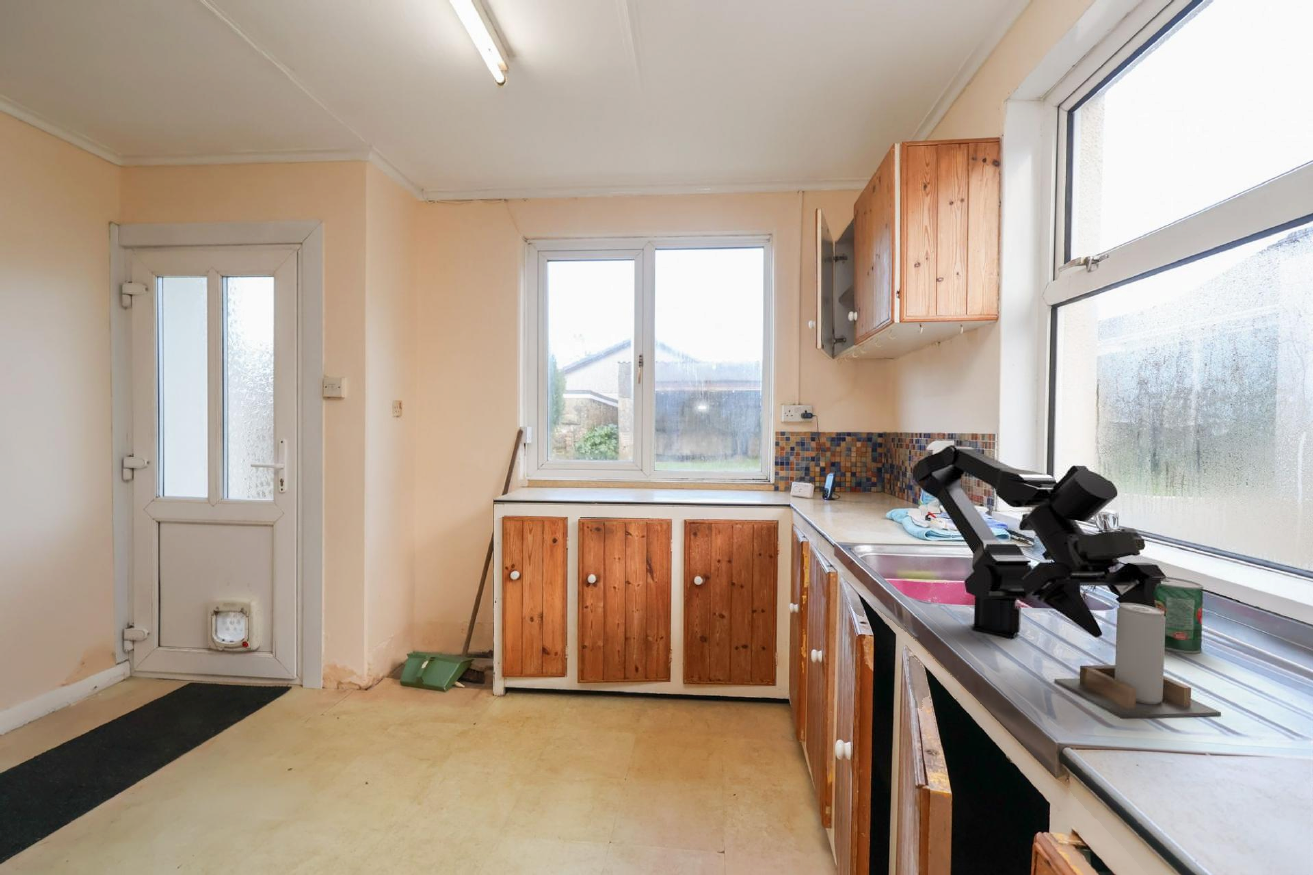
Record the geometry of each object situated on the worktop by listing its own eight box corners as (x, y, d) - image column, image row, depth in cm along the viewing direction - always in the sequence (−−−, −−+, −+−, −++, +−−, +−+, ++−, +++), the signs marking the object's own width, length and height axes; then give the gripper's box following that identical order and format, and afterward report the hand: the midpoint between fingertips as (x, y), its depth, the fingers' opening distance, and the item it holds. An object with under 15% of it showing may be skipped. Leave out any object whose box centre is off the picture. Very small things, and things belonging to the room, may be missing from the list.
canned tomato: (1215, 653, 89) (1217, 587, 89) (1171, 653, 89) (1173, 587, 89) (1167, 635, 97) (1168, 575, 97) (1126, 635, 97) (1128, 574, 97)
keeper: (1054, 681, 77) (1054, 661, 77) (1141, 679, 78) (1142, 659, 78) (1121, 718, 67) (1122, 695, 67) (1220, 715, 68) (1221, 692, 68)
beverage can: (1172, 708, 69) (1175, 615, 69) (1129, 703, 70) (1132, 612, 70) (1146, 691, 74) (1149, 604, 74) (1105, 686, 75) (1109, 601, 75)
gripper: (1039, 507, 77) (1109, 608, 67) (1155, 508, 79) (1240, 607, 69) (997, 549, 85) (1053, 646, 74) (1103, 550, 87) (1172, 644, 76)
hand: (1129, 635), depth 73 cm, fingers open, 9 cm apart
